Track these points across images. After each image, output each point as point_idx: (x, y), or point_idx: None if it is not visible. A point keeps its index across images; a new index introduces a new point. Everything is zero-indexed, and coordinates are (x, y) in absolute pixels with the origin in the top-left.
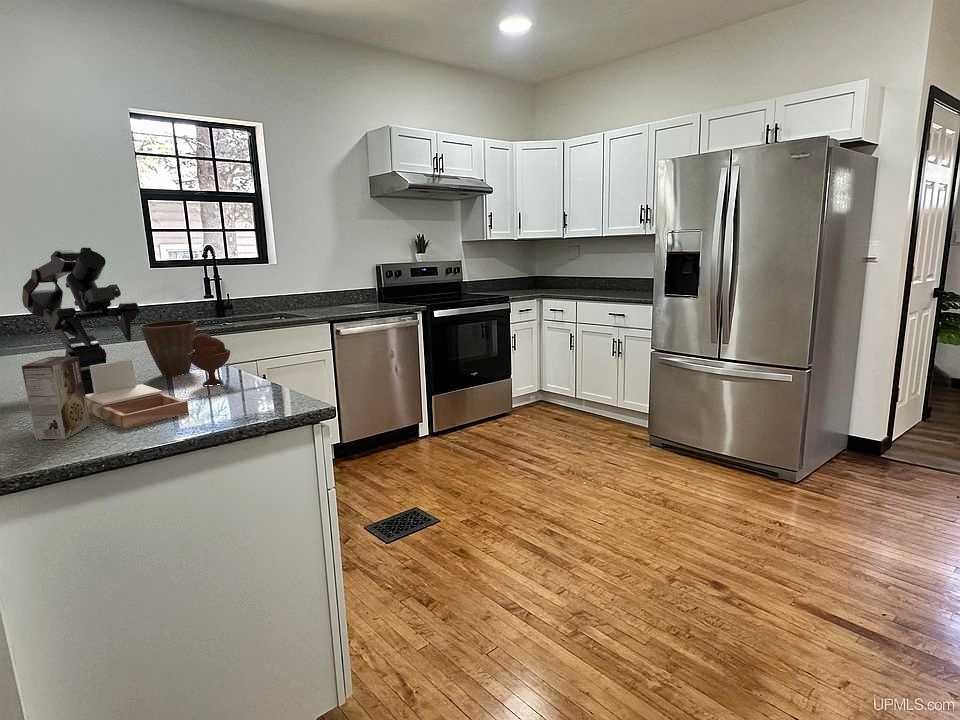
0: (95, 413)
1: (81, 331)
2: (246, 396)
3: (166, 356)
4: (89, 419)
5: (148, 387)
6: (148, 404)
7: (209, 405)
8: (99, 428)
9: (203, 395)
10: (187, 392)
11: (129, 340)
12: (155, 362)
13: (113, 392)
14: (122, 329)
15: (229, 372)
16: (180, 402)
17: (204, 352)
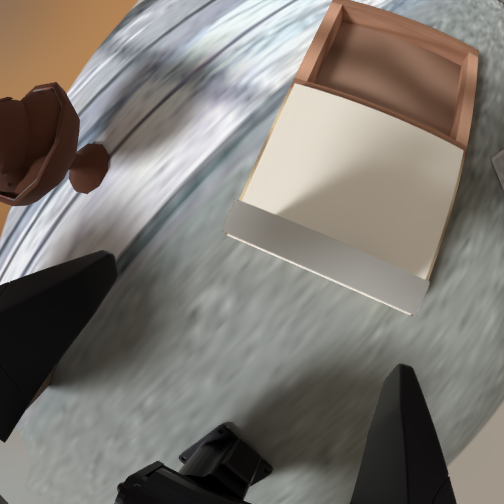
0: None
1: (440, 493)
2: (186, 14)
3: None
4: (498, 152)
5: (267, 161)
6: None
7: (266, 20)
8: (490, 122)
9: (185, 95)
10: (161, 162)
11: (115, 262)
12: (33, 398)
13: (360, 233)
14: (36, 369)
15: (11, 229)
16: (348, 2)
17: (52, 98)
